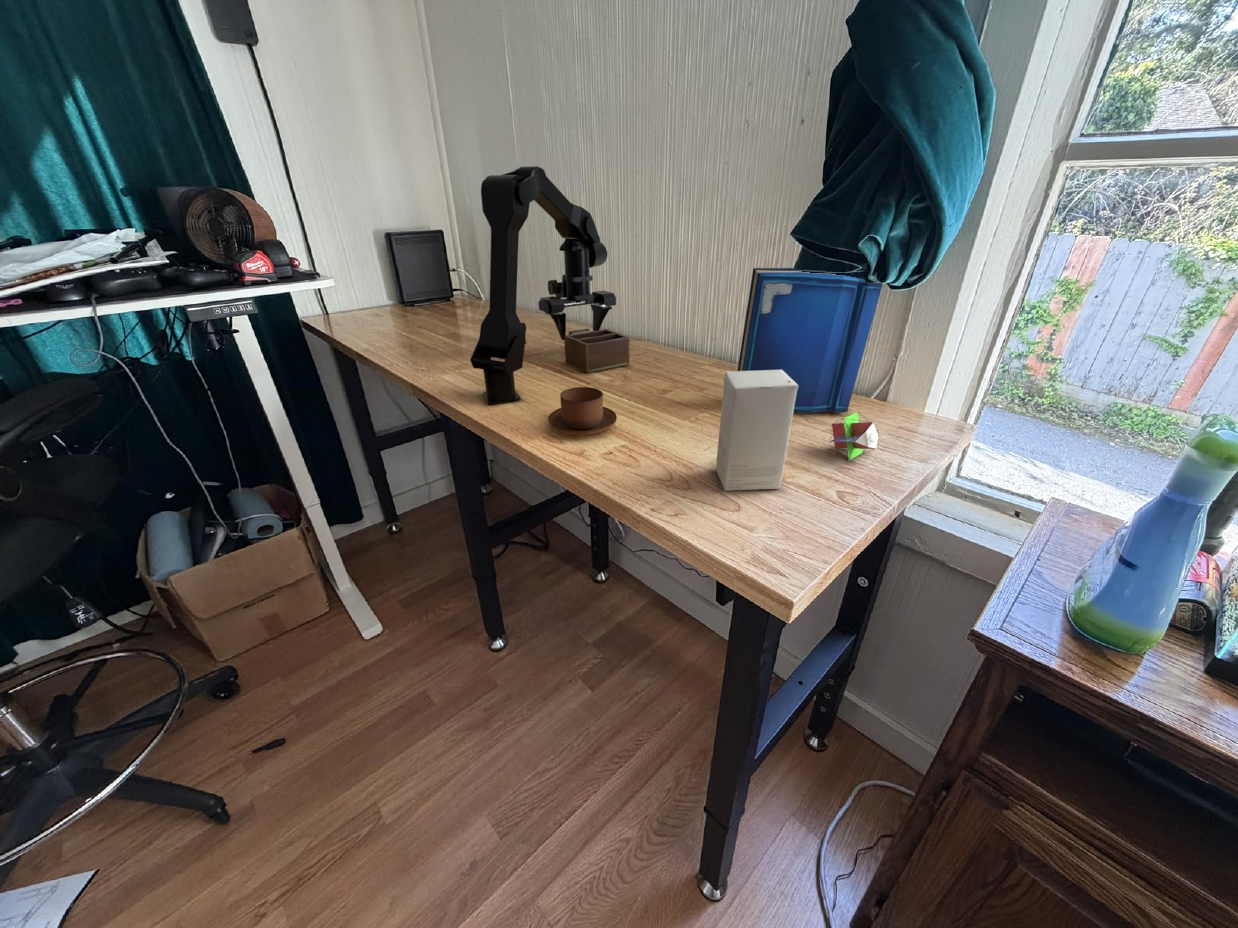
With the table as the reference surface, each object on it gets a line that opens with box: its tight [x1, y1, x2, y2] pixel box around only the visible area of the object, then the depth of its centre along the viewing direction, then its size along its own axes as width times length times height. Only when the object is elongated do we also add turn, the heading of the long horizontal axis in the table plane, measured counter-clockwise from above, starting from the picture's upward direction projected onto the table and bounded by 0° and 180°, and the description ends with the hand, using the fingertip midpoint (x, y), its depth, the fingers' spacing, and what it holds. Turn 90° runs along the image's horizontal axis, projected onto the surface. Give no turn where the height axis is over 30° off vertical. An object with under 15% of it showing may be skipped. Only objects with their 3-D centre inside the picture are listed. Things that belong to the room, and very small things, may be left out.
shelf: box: [563, 328, 631, 374], centre depth 119 cm, size 14×12×6 cm
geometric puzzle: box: [828, 410, 880, 461], centre depth 77 cm, size 7×7×8 cm
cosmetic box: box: [715, 370, 799, 492], centre depth 68 cm, size 8×7×16 cm
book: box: [737, 267, 884, 415], centre depth 89 cm, size 22×7×25 cm, turn 84°
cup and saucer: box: [547, 386, 618, 437], centre depth 86 cm, size 12×12×6 cm
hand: (579, 337), depth 123 cm, fingers open, 9 cm apart
